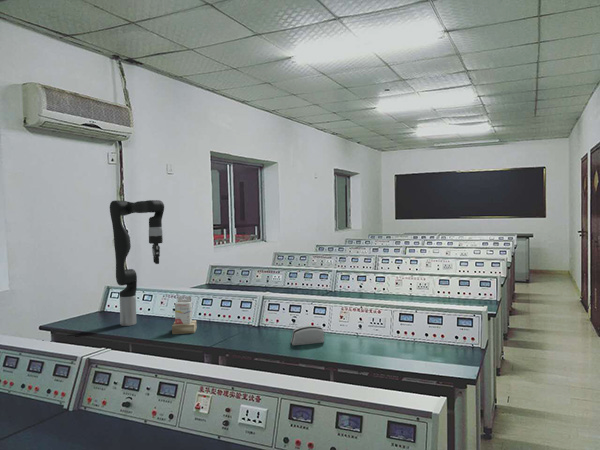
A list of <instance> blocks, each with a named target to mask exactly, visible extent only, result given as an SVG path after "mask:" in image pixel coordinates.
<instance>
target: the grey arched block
mask: <svg viewBox="0 0 600 450" xmlns="http://www.w3.org/2000/svg"><path fill="white" fill-rule="evenodd" d="M321 343H323V344H324V343H325V332H324V329H323V328H322V327H321V326H317V325H304V326H301V327H297V328H294V329H293V331H292V336H291V339H290V344H291V345H292V346H300V345H313V344H321Z"/></svg>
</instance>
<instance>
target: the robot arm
mask: <svg viewBox="0 0 600 450" xmlns="http://www.w3.org/2000/svg"><path fill="white" fill-rule="evenodd" d="M164 211H165V204H164V202H163V201H162V200H160V199H159V200H158V199H149V200H148V199H147V200H138V201H136V202H135V201H133V202H131V201H126V200H116V199H115V200H111V201H110V203H109V214H110V220H111V224H112V232H113V233H112V235H113V245H114V253H115V279H116V283H117V285H119V286H125V288H123V289H122V290H121V291H119V319H120V320H119V323H120V326H123V327H125V326H127V327H128V326H134V325H136V324H137V294H136V293H137V290H138V289H137V288H138V285H137V283H138V280H137V279H138V276H137V272H136V270H135V269H133V268H128V269H126V268H125V266H126V265H125V263H126V259H127V257H128V255H129V253H130V251H131V246H132V245H131V237H130V235H129V233H128V231H127V229H126V227H124V225H123V223H122V219H121V217H122V216H123V217H124V216H128V215H130V214H135V213H136V214H147V213H153V216H150V217H149V218H148V243H149V244H152V246H151V251H152V256H153V257H152V258H153V263H154V264H155V265H160V256H161V254H160V253H161V250H160V249H161V247H160V245H159V244H163V243H164V242H163V223H162V219H163V215H164Z"/></svg>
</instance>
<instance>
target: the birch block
mask: <svg viewBox="0 0 600 450" xmlns="http://www.w3.org/2000/svg"><path fill="white" fill-rule="evenodd" d="M197 326H198V325H197V320H196V319H192V322H191V323H190V324H175V321H174V322H173V324H172V325H171V333H172V335H180V334H181V335H182V334H194V333H196V331H197Z"/></svg>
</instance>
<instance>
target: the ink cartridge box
mask: <svg viewBox="0 0 600 450" xmlns="http://www.w3.org/2000/svg"><path fill="white" fill-rule="evenodd" d="M176 299H177V301H176V302H175V303H174V317H175V318H174V320H175V321H174V322H175V324H190V323H191V322H192V320H193V310H192V309H193V307H192V305H193V302H192V296H191V295H190V296H186V295H185V296H177V297H176Z"/></svg>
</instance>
